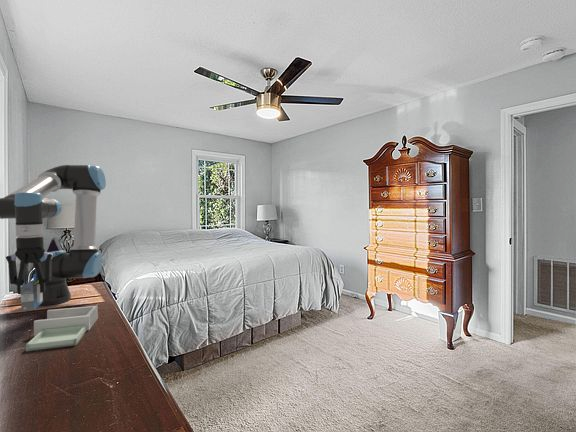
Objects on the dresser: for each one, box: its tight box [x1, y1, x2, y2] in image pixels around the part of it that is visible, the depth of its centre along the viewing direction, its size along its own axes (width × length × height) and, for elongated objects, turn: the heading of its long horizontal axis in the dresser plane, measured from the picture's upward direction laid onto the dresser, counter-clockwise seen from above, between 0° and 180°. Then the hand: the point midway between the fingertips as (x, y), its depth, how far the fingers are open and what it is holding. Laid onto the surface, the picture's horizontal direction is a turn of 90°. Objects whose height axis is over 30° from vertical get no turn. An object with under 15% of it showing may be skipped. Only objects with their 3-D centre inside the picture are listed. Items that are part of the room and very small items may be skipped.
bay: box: [33, 305, 99, 337], centre depth 118 cm, size 13×16×5 cm
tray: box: [25, 325, 88, 352], centre depth 106 cm, size 13×13×2 cm
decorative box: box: [46, 236, 63, 253], centre depth 173 cm, size 8×16×28 cm, turn 32°
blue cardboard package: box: [20, 273, 42, 312], centre depth 115 cm, size 9×4×12 cm, turn 23°
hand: (32, 302), depth 115 cm, fingers closed on blue cardboard package, 4 cm apart
